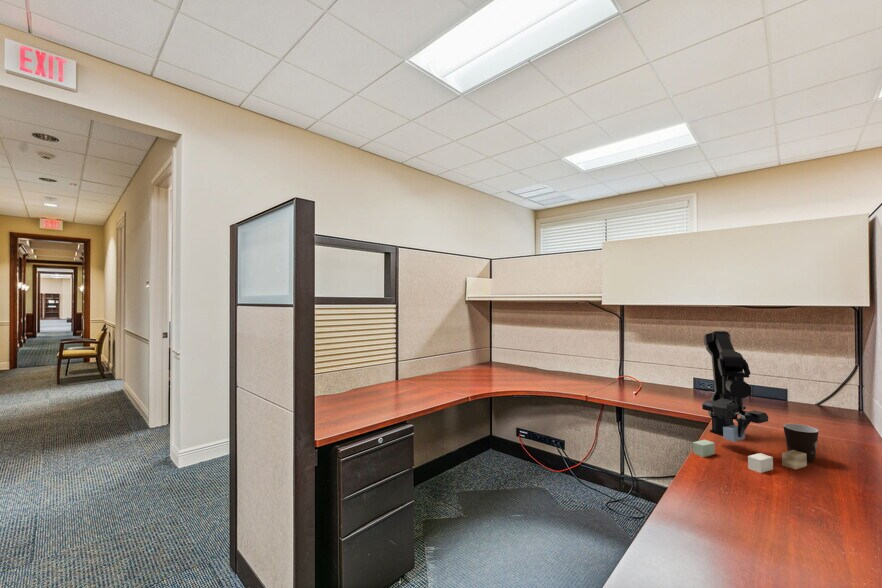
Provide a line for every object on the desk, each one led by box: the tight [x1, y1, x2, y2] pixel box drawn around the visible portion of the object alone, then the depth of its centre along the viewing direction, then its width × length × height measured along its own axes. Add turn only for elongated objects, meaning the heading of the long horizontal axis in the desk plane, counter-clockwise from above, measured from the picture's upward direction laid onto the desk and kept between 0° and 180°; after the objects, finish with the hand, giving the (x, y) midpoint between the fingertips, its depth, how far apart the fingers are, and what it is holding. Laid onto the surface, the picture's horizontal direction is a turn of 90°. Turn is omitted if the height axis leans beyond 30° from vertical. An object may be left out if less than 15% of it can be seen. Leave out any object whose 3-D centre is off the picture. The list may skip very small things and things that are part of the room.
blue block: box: [722, 424, 746, 443], centre depth 137 cm, size 4×6×4 cm, turn 112°
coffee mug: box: [782, 423, 820, 463], centre depth 130 cm, size 12×9×10 cm
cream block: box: [747, 452, 774, 474], centre depth 122 cm, size 4×6×4 cm, turn 111°
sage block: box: [692, 439, 716, 458], centre depth 134 cm, size 4×6×4 cm, turn 112°
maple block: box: [781, 450, 808, 470], centre depth 124 cm, size 4×6×4 cm, turn 111°
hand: (734, 435), depth 137 cm, fingers closed on blue block, 3 cm apart
